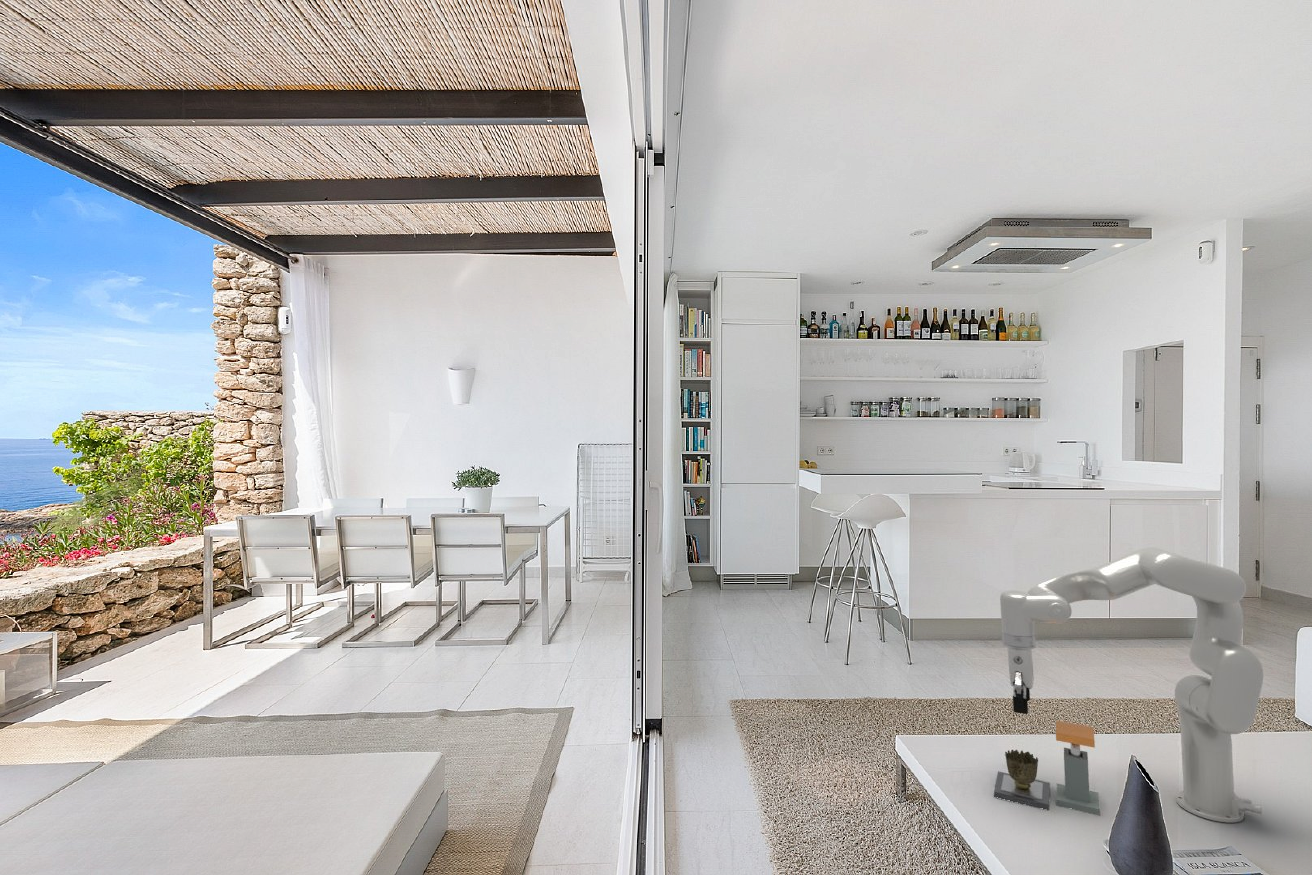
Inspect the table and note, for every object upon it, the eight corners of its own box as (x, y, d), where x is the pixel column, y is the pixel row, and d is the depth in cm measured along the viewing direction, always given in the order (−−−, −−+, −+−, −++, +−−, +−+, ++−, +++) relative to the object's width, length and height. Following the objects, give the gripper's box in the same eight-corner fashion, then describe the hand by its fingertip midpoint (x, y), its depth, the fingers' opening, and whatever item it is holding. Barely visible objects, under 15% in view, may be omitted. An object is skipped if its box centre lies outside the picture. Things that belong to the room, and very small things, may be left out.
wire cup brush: (1045, 794, 161) (1044, 762, 161) (1016, 794, 161) (1014, 762, 162) (1028, 779, 169) (1027, 748, 169) (1000, 779, 169) (999, 749, 169)
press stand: (1098, 798, 162) (1096, 750, 162) (1100, 815, 154) (1098, 765, 155) (1056, 788, 167) (1054, 742, 167) (1056, 805, 159) (1054, 756, 159)
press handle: (1095, 774, 162) (1093, 726, 162) (1096, 789, 155) (1094, 739, 155) (1058, 767, 166) (1056, 720, 166) (1057, 780, 159) (1055, 732, 160)
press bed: (1050, 788, 167) (1049, 781, 167) (1049, 810, 157) (1048, 803, 157) (998, 776, 174) (998, 770, 174) (994, 797, 163) (993, 790, 164)
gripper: (1033, 650, 157) (1037, 721, 156) (1036, 633, 171) (1039, 697, 171) (999, 646, 161) (1002, 715, 160) (1004, 629, 175) (1008, 692, 175)
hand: (1021, 706), depth 166 cm, fingers open, 9 cm apart
